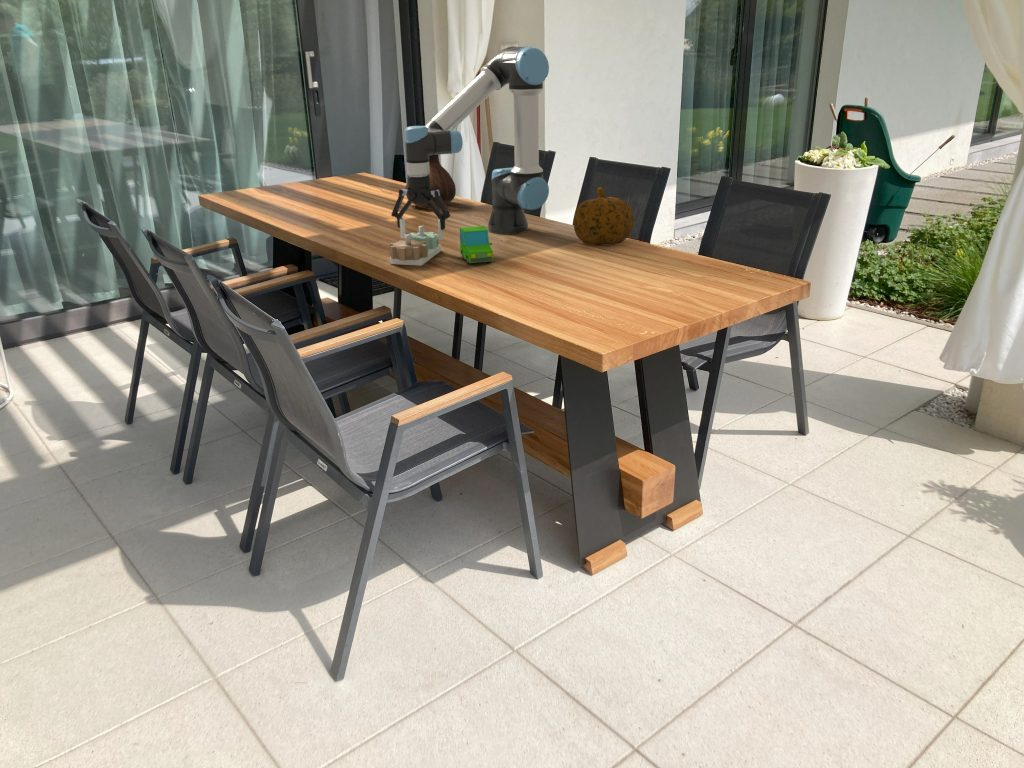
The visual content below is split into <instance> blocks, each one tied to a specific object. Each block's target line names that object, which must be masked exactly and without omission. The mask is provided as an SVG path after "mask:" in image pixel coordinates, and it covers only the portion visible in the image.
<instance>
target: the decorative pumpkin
mask: <svg viewBox="0 0 1024 768" xmlns="http://www.w3.org/2000/svg"><path fill="white" fill-rule="evenodd" d="M596 190H597V197H596V198H593V199H587V200H584V201H582V202H580V203H579V205H578V206H577V208H575V209H576V210H574V211H575V212H574V215H573V229H574V233H575V235H576V237H577V239H579V240H580V241H581V242H582V243H584V244H588V245H591V246H597V247H598V246H603V245H609V246H610V245H611V246H612V245H613V246H614V245H616V244H620V243H622V242H624V241H625V240H626V239H627V238H628V237H629V235H630V234H631V233H632V230H633V228H634V222H635V220H634V219H635V218H634V212H633V210H632V208H631V206H630V205H629V204H628V203H627V202H626V201H625V200H623V199H621V198H618V197H613V196H606V195H605V191H604V187H602V186H600V187H599V186H598V188H597V189H596Z"/></svg>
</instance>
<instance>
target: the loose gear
mask: <svg viewBox="0 0 1024 768" xmlns="http://www.w3.org/2000/svg"><path fill="white" fill-rule="evenodd" d="M408 234H410V235H411V240H418V241H425V242H427V249H435V248H436V247H437V246H438V245H439V239H438V233H435V232H433V231H429V232H425V231H424V236H419V232H409V233H408Z"/></svg>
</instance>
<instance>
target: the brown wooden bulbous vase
mask: <svg viewBox="0 0 1024 768" xmlns="http://www.w3.org/2000/svg"><path fill="white" fill-rule="evenodd" d="M439 158H440V156H439V155H429V169H430V173H429V174H428V175H429V176H430V189H431V191H436V190H440V195H441V198H442V200H443V202H444V204H445V206H446V207H447V206H448V205H449V204H450V203H452V201H454V199H455V197H456V193H457V192H456V190H457V189H456V184H455V181H454V179H453V178H452V176H451V174H450V173H449V172H448V171H447V169H446V168H444V166H442V164H441V163H440V159H439ZM404 189H405V190H408V182H406V184H405V188H404ZM405 196H406V198H407V201H408V200H409V199H410V197H409V196H408V194H406V195H405ZM430 198H431V199H432V200H433V202H434V204H435V205H436V206H437V207H438V208H439V209H440V207H439V205H438V203H437V201H436V199H435V197H434V196H433V195H431V196H430ZM412 204H413V205H415V206H417V207H418V208H421V209H431V208H430V207H429V206H428V205H427V204H426V203H424V204H421V203H417V204H416V203H414V202H413V203H412Z"/></svg>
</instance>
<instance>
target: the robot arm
mask: <svg viewBox="0 0 1024 768" xmlns="http://www.w3.org/2000/svg"><path fill="white" fill-rule="evenodd" d="M549 63H550V62H549V61H548V58H547V56H546V54H545V53H544V52H543V51H542V50H541V49H539V48H537V47H532V46H508V47H505V48H503V49H501V50H500V51H499V52H498V53H496V54H495V55H494V56H493V57H492V58H490V59H489V60H488V61H487V62H486V63H485V64H484V65H483V66H482V67H481V68H480V73H479V74H478V75H477V76H476V77H475V78H474V79H472V81H471V82H470V83H468V85H466V86H465V87H464V88H463V89H462V90H460V92H459V93H457V95H456V96H455V97H454V98H452V99H451V100H450V102H448V103H447V104H446V105H445V106H444V107H443V108H442V109H441V110H440V111H439V112H438V113H437V114H436V115H435V116H434V117H433V118H432V119H431V120H430V121H428V122H427V123H426V124H425V125H412V126H411V125H410V126H407V127H405V129H404V147H405V159H406V161H405V163H406V174H407V180H406V181H407V182H408V190H405V188H403V187H402V188H400V189H399V190H398V197H397V200H396V202H395V204H394V207H393V210H392V212H391V217H393V218H396V221H397V227H398V229H399V230H400V239H405V235H407V234H406V220H405V217H403V216H404V215H405V213H406V212H407V211H408V210H409V208H410V207H411V206H412V204H413V202H414V203H416V204H417V203H421V204H424V203H426V204H427V205H428V206H429V207H430V208H429V209H430V210H431V211H432V212H433V214H435V216H436V217H437V218H438V219H437V234H438V241H441V240H443V239H444V231H445V229H446V220H447V219H449V218H450V217H451V213H450V212H449V210H448V207H447V206H445V204H444V202H443V200H442V198H441V195H440V190H436V191H431V189H430V176H429V175H428V174H429V173H430V169H429V155H453V154H457V153H460V152H461V151H462V149H463V146H464V145H463V143H464V141H463V137H462V134H461V132H460V131H459V130H457V129H456V128H457V127H458V126H459V125H460V124H461V123H462V122H463V121H464V120H465V119H466V118H467V117H468V116H470V114H471V113H473V112H474V111H475V110H476V109H477V108H478V107H480V105H481V104H482V103H483V102H484V101H485V100H486V99H488V98H489V97H490V96H491V94H492V93H494V92H495V91H500V90H502V88H503V87H505V86H506V85H508V90H509V92H511V93H512V95H513V130H514V131H513V135H514V136H513V138H514V141H513V143H514V144H513V145H514V166H513V167H505V168H496V169H493V170H492V173H491V181H490V182H491V199H492V201H491V203H492V211H491V213H490V216H489V220H488V223H487V227H488V229H487V230H488V232H490V233H492V234H493V233H494V234H497V235H498V234H499V235H514V234H521V233H525V232H527V231H529V223H528V219H527V216H526V214H525V210H529V211H532V210H533V211H534V210H537V209H540V208H541V207H543V205H544V204H545V203H546V202H547V200H548V197H549V196H550V195H549V194H550V186H549V184H548V182H547V181H546V180H545V179H544V169H543V168H542V167H541V166H540V163H539V162H540V160H539V159H540V153H539V152H540V150H539V148H540V147H539V146H540V144H539V141H540V140H539V139H540V138H539V137H540V135H539V133H540V132H539V126H540V125H539V95H540V93H541V91H543V88H544V82H545V80H546V78H547V77H548V75H549V72H550V71H549V70H550V64H549ZM407 182H406V183H407ZM406 194H408V196H409V197H410V199H409V200H408V199H407V201H406V203H405V205H404V206H403V207H402V204H403V201H404V198H405V196H406ZM431 195H433V196H434V197H435V199H436V201H437V203H438V205H439V207H440V208H438V207H437V206H436V205H435V204H434V202H433V200H432V199H431V198H430V196H431ZM401 207H402V208H401ZM400 208H401V210H400Z"/></svg>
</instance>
